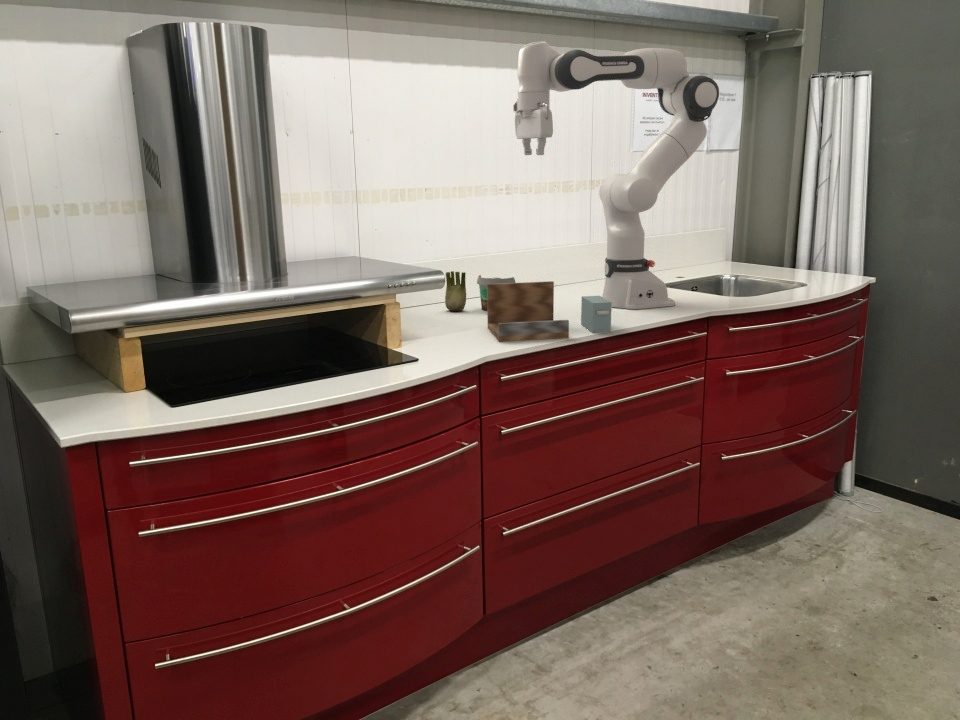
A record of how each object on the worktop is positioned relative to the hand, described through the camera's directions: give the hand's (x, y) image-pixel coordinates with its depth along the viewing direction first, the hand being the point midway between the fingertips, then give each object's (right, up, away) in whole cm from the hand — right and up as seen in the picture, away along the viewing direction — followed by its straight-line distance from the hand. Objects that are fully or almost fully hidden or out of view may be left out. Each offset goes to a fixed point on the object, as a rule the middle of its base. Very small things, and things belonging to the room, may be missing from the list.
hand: (533, 155), depth 224 cm
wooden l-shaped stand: (-3, -51, -17) cm, 54 cm away
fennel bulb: (-23, -44, +13) cm, 51 cm away
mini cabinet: (+16, -50, -13) cm, 54 cm away
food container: (-11, -43, +13) cm, 47 cm away
